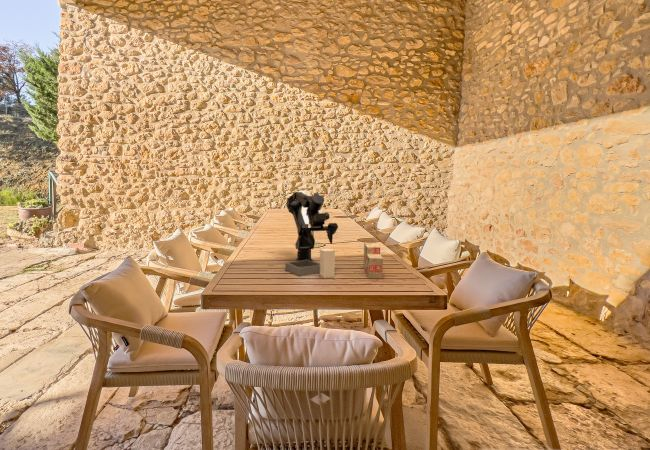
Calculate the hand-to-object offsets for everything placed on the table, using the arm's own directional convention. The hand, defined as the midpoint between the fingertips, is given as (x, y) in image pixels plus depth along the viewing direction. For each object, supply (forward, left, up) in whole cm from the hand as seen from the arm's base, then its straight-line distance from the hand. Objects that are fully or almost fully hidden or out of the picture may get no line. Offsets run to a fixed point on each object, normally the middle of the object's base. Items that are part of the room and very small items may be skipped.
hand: (322, 243), depth 172 cm
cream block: (+2, +6, -13) cm, 15 cm away
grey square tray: (+6, -6, -13) cm, 16 cm away
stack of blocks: (-20, +12, -14) cm, 27 cm away
